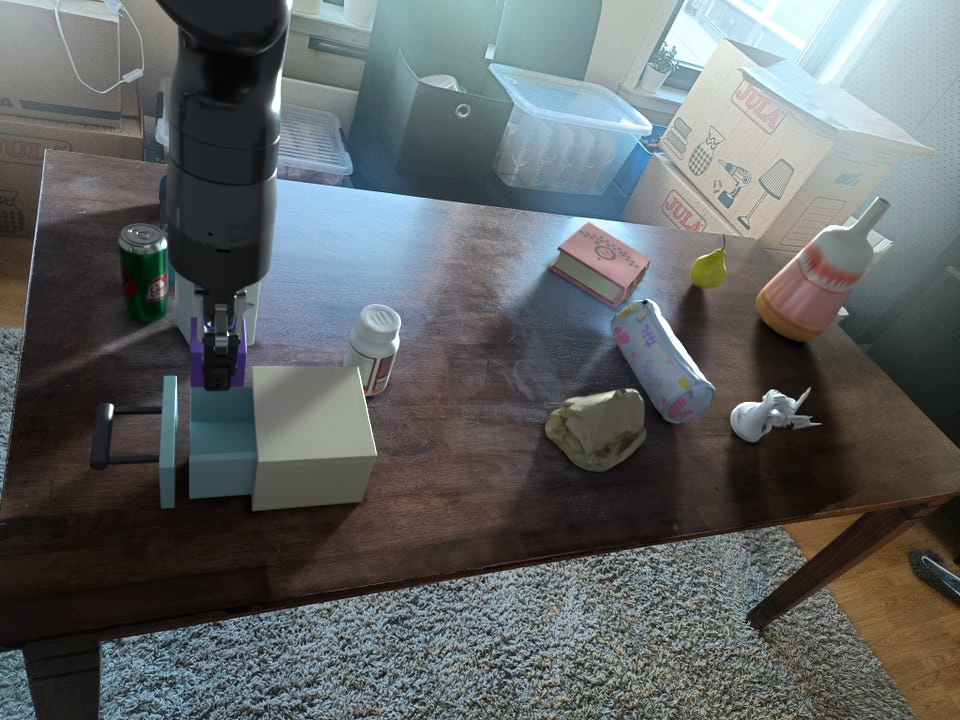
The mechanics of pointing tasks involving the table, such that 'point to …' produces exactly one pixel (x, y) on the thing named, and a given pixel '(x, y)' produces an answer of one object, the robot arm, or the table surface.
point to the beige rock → (599, 428)
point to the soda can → (144, 272)
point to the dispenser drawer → (193, 441)
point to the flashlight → (165, 225)
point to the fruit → (709, 269)
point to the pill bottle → (373, 346)
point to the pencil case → (661, 362)
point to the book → (600, 264)
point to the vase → (819, 279)
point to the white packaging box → (186, 311)
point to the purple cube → (196, 353)
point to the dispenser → (310, 436)
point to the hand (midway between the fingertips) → (216, 367)
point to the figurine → (767, 415)
